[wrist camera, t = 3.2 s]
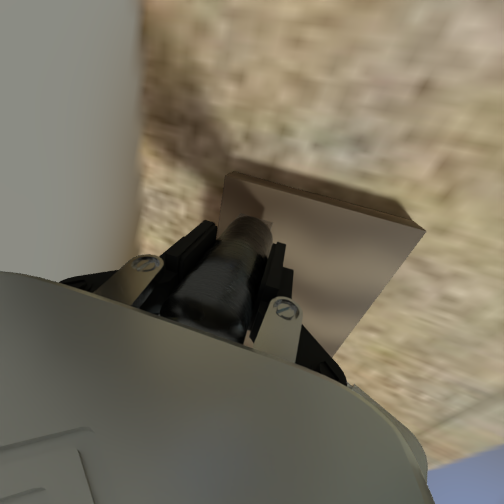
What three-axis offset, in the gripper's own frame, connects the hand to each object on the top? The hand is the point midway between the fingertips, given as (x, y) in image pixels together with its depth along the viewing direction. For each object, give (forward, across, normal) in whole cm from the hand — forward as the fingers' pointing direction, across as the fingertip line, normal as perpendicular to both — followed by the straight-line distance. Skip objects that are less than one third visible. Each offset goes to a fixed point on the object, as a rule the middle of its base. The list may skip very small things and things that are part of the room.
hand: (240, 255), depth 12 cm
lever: (+4, 0, +10) cm, 11 cm away
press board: (+7, -4, +10) cm, 13 cm away
